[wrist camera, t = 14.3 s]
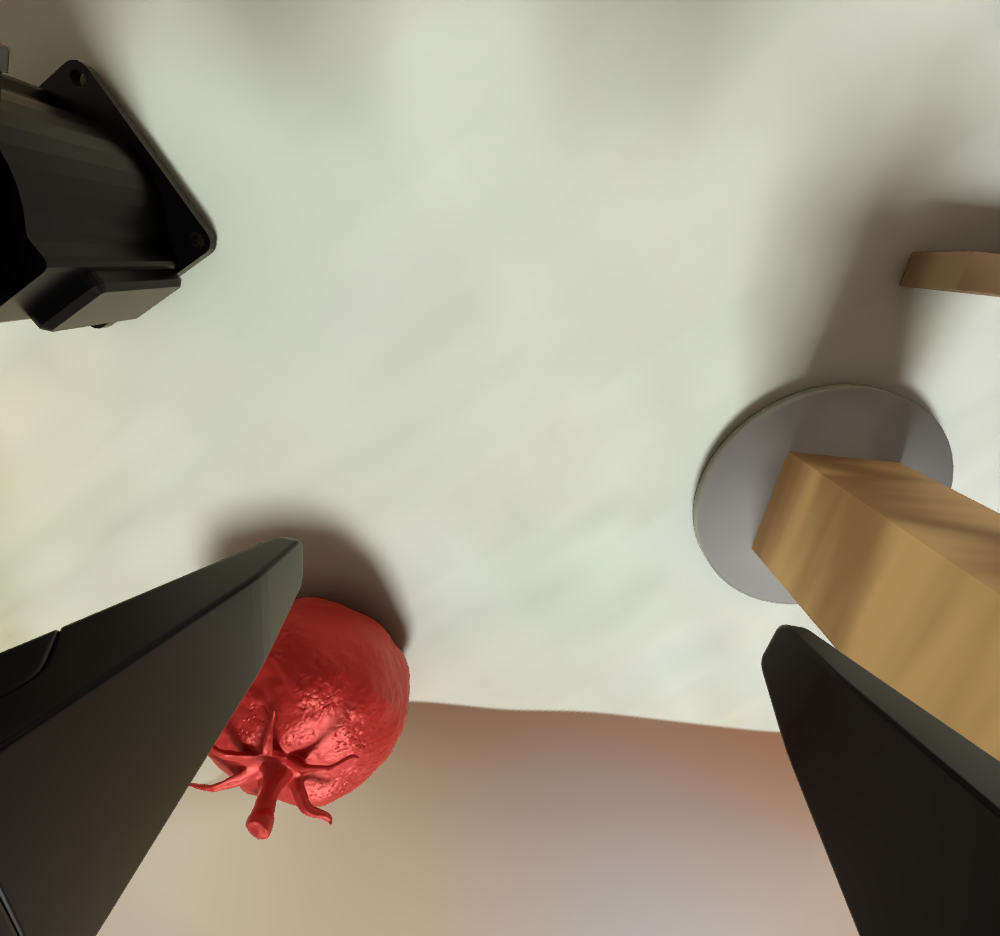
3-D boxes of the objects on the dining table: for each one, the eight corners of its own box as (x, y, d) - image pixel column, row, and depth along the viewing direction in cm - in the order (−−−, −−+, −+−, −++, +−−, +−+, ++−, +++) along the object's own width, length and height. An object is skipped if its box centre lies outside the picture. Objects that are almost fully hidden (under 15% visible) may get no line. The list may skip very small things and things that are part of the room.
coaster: (658, 457, 21) (663, 464, 21) (914, 335, 19) (929, 339, 18) (734, 623, 25) (741, 634, 24) (955, 539, 23) (970, 548, 22)
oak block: (751, 548, 22) (1029, 876, 10) (788, 451, 20) (1183, 720, 8) (853, 558, 23) (1242, 892, 11) (900, 462, 21) (1444, 742, 9)
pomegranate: (320, 537, 24) (217, 687, 15) (454, 655, 27) (432, 837, 18) (201, 638, 26) (54, 816, 18) (336, 735, 29) (266, 929, 20)
